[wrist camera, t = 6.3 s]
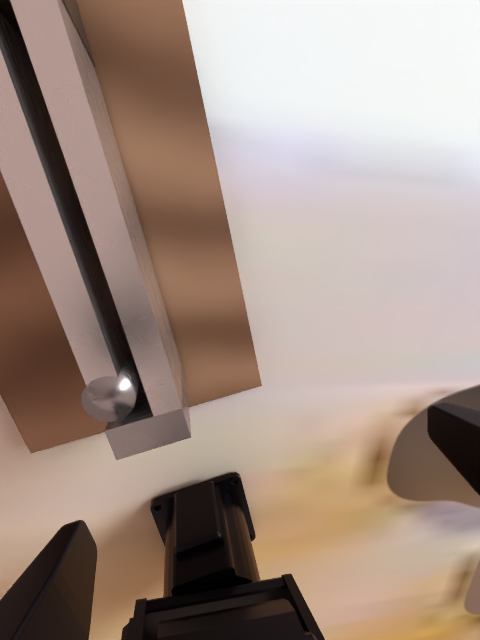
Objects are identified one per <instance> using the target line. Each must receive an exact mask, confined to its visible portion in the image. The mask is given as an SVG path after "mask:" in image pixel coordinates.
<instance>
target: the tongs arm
mask: <svg viewBox="0 0 480 640" xmlns="http://www.w3.org/2000/svg"><path fill="white" fill-rule="evenodd" d="M0 170H1V173H2V175H3V178H4V180H5V183H6V185H7V188H8V190H9V193H10V195H11V198H12V200H13V203H14V205H15V208H16V210H17V213H18V215H19V218H20V220H21V223H22V226H23V228H24V231H25V233H26V236H27V238H28V241H29V243H30V246H31V248H32V251H33V253H34V256H35V258H36V261H37V263H38V266H39V268H40V271H41V273H42V276H43V278H44V281H45V283H46V286H47V288H48V291H49V293H50V296H51V298H52V301H53V303H54V306H55V308H56V311H57V313H58V316H59V318H60V321H61V323H62V326H63V329H64V331H65V334H66V336H67V339H68V341H69V344H70V346H71V349H72V351H73V354H74V356H75V359H76V361H77V364H78V366H79V369H80V371H81V374H82V376H83V379H84V381H85V384H86V387H85V389H84V391H83V393H82V405H83V408H84V410H85V411H86V412H87V413H88V414H89V415H90V416H91V417H93V418H95V419H97V420H100V421H105V422H112V421H117V420H120V419H122V418H124V417H126V416H127V415H128V414H129V413H130V412H131V411H132V409H133V407H134V405H135V401H136V397H137V393H138V389H139V385H140V381H141V378H140V375H139V372H138V370H137V367H136V364H135V361H134V358H133V355H132V352H131V349H130V346H129V343H128V340H127V338H126V335H125V332H124V329H123V326H122V323H121V320H120V317H119V314H118V311H117V309H116V306H115V303H114V300H113V297H112V294H111V291H110V288H109V285H108V282H107V280H106V277H105V274H104V271H103V268H102V265H101V262H100V259H99V256H98V253H97V251H96V248H95V245H94V242H93V239H92V236H91V233H90V230H89V227H88V224H87V222H86V219H85V216H84V213H83V210H82V207H81V204H80V201H79V198H78V195H77V193H76V190H75V187H74V184H73V181H72V178H71V175H70V172H69V169H68V166H67V164H66V161H65V158H64V155H63V152H62V149H61V146H60V143H59V140H58V137H57V134H56V132H55V129H54V126H53V123H52V120H51V117H50V114H49V111H48V108H47V105H46V103H45V100H44V97H43V94H42V91H41V88H40V85H39V82H38V79H37V76H36V74H35V71H34V68H33V65H32V62H31V59H30V56H29V53H28V50H27V47H26V45H25V42H24V39H23V36H22V33H21V30H20V27H19V24H18V21H17V18H16V16H15V13H14V10H13V7H12V4H11V1H10V0H0Z"/></svg>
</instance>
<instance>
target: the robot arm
mask: <svg viewBox="0 0 480 640" xmlns="http://www.w3.org/2000/svg"><path fill="white" fill-rule="evenodd" d="M427 432H428V435H429V437H430V439H431V440H432V441H433V443H434V444H435V445H436V446H437V447H438V448H439V450H440V451H441V452H442V453H443V454H444V455H445V457H446V458H447V459H448V460H449V461H450V462H451V464H452V465H453V466H454V467H455V468H456V469H457V471H458V472H459V473H460V474H461V475H462V477H464V479H465V480H466V481H467V482H468V483H469V485H470V486H471V487H472V488H473V489H474V490H475V491H476V492H477V493H478V494H479V495H480V411H479V410H475V409H471V408H467V407H463V406H459V405H455V404H451V403H447V402H439V403H436V404H432V405H430V406H428V408H427ZM234 479H236V480H235V481H232V480H234ZM156 505H160V506H156ZM150 509H151V512H152V515H153V517H154V520H155V523H156V525H157V528H158V530H159V533H160V535H161V538H162V540H163V543H164V546H165V568H164V595H163V598H157V599H151V600H147V598H144V599H138V600H136V604H135V610H134V617H133V618H130V621H129V623H128V624H127V625H126V626H125V627H124V628H123V631H122V638H121V640H325V639H324V637H323V635H322V633H321V631H320V629H319V627H318V625H317V623H316V621H315V619H314V617H313V615H312V613H311V611H310V610H309V608H308V606H307V604H306V602H305V600H304V598H303V596H302V594H301V592H300V590H299V588H298V586H297V584H296V582H295V580H294V578H293V576H292V574H285V575H282V576H281V577H279V578H273V579H267V580H260V576H259V572H258V568H257V564H256V560H255V556H254V552H253V548H252V543H251V541H253V540H254V539H255V531H254V527H253V524H252V520H251V516H250V512H249V508H248V504H247V500H246V497H245V493H244V489H243V485H242V481H241V477H240V475H239V474H238V473H236V472H233V473H230V474H227V475H224V476H221V477H217V478H214V479H211V480H208V481H205V482H202V483H199V484H196V485H193V486H190V487H187V488H184V489H181V490H178V491H175V492H172V493H169V494H166V495H163V496H160V497H157V498H154V499H153V500H152V501H151V507H150ZM96 561H97V547H96V544H95V541H94V539H93V537H92V535H91V533H90V531H89V529H88V527H87V525H86V523H85V522H84V521H83V520H78V521H75V522H72V523H69V524H66V525H64V526H63V527H61V528H60V530H59V531H58V532H57V533H56V534H55V535H54V537H53V538H52V539H51V540H50V541H49V543H48V544H47V545H46V546H45V547H44V549H43V550H42V551H41V552H40V553H39V555H38V556H37V557H36V558H35V559H34V560H33V562H32V563H31V564H30V565H29V566H28V568H27V569H26V570H25V571H24V572H23V574H22V575H21V576H20V577H19V578H18V580H17V581H16V582H15V583H14V584H13V586H12V587H11V588H10V589H9V590H8V591H7V593H6V594H5V595H4V596H3V597H2V599H1V600H0V640H88V639H89V630H90V622H91V612H92V601H93V591H94V581H95V571H96Z"/></svg>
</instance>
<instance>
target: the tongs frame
mask: <svg viewBox="0 0 480 640" xmlns="http://www.w3.org/2000/svg"><path fill="white" fill-rule="evenodd" d="M10 1H11V4H12V7H13V10H14V13H15V16H16V18H17V21H18V24H19V27H20V30H21V33H22V36H23V39H24V42H25V45H26V47H27V50H28V53H29V56H30V59H31V62H32V65H33V68H34V71H35V74H36V76H37V79H38V82H39V85H40V88H41V91H42V94H43V97H44V100H45V103H46V105H47V108H48V111H49V114H50V117H51V120H52V123H53V126H54V129H55V132H56V134H57V137H58V140H59V143H60V146H61V149H62V152H63V155H64V158H65V161H66V164H67V166H68V169H69V172H70V175H71V178H72V181H73V184H74V187H75V190H76V193H77V195H78V198H79V201H80V204H81V207H82V210H83V213H84V216H85V219H86V222H87V224H88V227H89V230H90V233H91V236H92V239H93V242H94V245H95V248H96V251H97V253H98V256H99V259H100V262H101V265H102V268H103V271H104V274H105V277H106V280H107V282H108V285H109V288H110V291H111V294H112V297H113V300H114V303H115V306H116V309H117V311H118V314H119V317H120V320H121V323H122V326H123V329H124V332H125V335H126V338H127V340H128V343H129V346H130V349H131V352H132V355H133V358H134V361H135V364H136V367H137V370H138V372H139V375H140V378H141V381H140V385H139V389H138V393H137V397H136V401H135V405H134V407H133V409H132V411H131V412H130V413H129V414H128V415H127V416H126V417H124V418H122V419H120V420H117V421H112V422H108V423H107V426H106V429H105V433H106V435H107V438H108V440H109V443H110V445H111V448H112V450H113V453H114V455H115V457H116V460H119V459H122V458H125V457H128V456H132V455H135V454H138V453H142V452H145V451H148V450H151V449H155V448H158V447H161V446H164V445H168V444H171V443H174V442H177V441H181V440H184V439H187V438H190V437H191V429H190V415H189V401H188V387H187V381H186V378H185V374H184V371H183V368H182V364H181V361H180V357H179V354H178V350H177V347H176V344H175V340H174V337H173V333H172V330H171V327H170V323H169V320H168V316H167V313H166V310H165V306H164V303H163V299H162V296H161V292H160V289H159V286H158V282H157V279H156V275H155V272H154V269H153V265H152V262H151V258H150V255H149V251H148V248H147V245H146V241H145V238H144V234H143V231H142V228H141V224H140V221H139V217H138V214H137V210H136V207H135V204H134V200H133V197H132V193H131V190H130V187H129V183H128V180H127V176H126V173H125V169H124V166H123V163H122V159H121V156H120V152H119V149H118V146H117V142H116V139H115V135H114V132H113V128H112V125H111V122H110V118H109V115H108V111H107V108H106V105H105V101H104V98H103V94H102V91H101V88H100V84H99V81H98V77H97V74H96V70H95V67H96V66H95V63H94V59H93V56H92V53H91V49H90V46H89V42H88V39H87V35H86V32H85V29H84V25H83V22H82V18H81V15H80V11H79V8H78V5H77V1H76V0H10Z"/></svg>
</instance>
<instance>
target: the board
mask: <svg viewBox="0 0 480 640" xmlns="http://www.w3.org/2000/svg"><path fill="white" fill-rule="evenodd" d="M76 1H77V5H78V8H79V11H80V15H81V18H82V22H83V25H84V29H85V32H86V35H87V39H88V42H89V46H90V49H91V53H92V56H93V59H94V63H95V66H96V67H95V70H96V74H97V77H98V81H99V84H100V88H101V91H102V94H103V98H104V101H105V105H106V108H107V111H108V115H109V118H110V122H111V125H112V128H113V132H114V135H115V139H116V142H117V146H118V149H119V152H120V156H121V159H122V163H123V166H124V169H125V173H126V176H127V180H128V183H129V187H130V190H131V193H132V197H133V200H134V204H135V207H136V210H137V214H138V217H139V221H140V224H141V228H142V231H143V234H144V238H145V241H146V245H147V248H148V251H149V255H150V258H151V262H152V265H153V269H154V272H155V275H156V279H157V282H158V286H159V289H160V292H161V296H162V299H163V303H164V306H165V310H166V313H167V316H168V320H169V323H170V327H171V330H172V333H173V337H174V340H175V344H176V347H177V350H178V354H179V357H180V361H181V364H182V368H183V371H184V374H185V378H186V381H187V387H188V401H189V407H191V406H194V405H198V404H201V403H205V402H208V401H211V400H215V399H218V398H222V397H225V396H228V395H232V394H235V393H239V392H242V391H245V390H249V389H252V388H256V387H259V386H262V384H261V380H260V375H259V370H258V365H257V360H256V355H255V351H254V346H253V341H252V336H251V331H250V326H249V322H248V317H247V312H246V307H245V302H244V297H243V293H242V288H241V283H240V278H239V273H238V268H237V264H236V259H235V254H234V249H233V244H232V239H231V235H230V230H229V225H228V220H227V215H226V210H225V206H224V201H223V196H222V191H221V186H220V181H219V177H218V172H217V167H216V162H215V157H214V153H213V148H212V143H211V138H210V133H209V128H208V124H207V119H206V114H205V109H204V104H203V99H202V95H201V90H200V85H199V80H198V75H197V70H196V66H195V61H194V56H193V51H192V46H191V41H190V37H189V32H188V27H187V22H186V17H185V12H184V8H183V3H182V0H76ZM85 387H86V384H85V381H84V379H83V376H82V374H81V371H80V369H79V366H78V364H77V361H76V359H75V356H74V354H73V351H72V349H71V346H70V344H69V341H68V339H67V336H66V334H65V331H64V329H63V326H62V323H61V321H60V318H59V316H58V313H57V311H56V308H55V306H54V303H53V301H52V298H51V296H50V293H49V291H48V288H47V286H46V283H45V281H44V278H43V276H42V273H41V271H40V268H39V266H38V263H37V261H36V258H35V256H34V253H33V251H32V248H31V246H30V243H29V241H28V238H27V236H26V233H25V231H24V228H23V226H22V223H21V220H20V218H19V215H18V213H17V210H16V208H15V205H14V203H13V200H12V198H11V195H10V193H9V190H8V188H7V185H6V183H5V180H4V178H3V175H2V173H1V170H0V394H1V396H2V398H3V400H4V402H5V404H6V406H7V408H8V410H9V412H10V414H11V416H12V418H13V420H14V422H15V423H16V425H17V427H18V429H19V431H20V433H21V435H22V437H23V439H24V441H25V443H26V445H27V447H28V449H29V451H30V453H34V452H37V451H41V450H44V449H48V448H51V447H54V446H58V445H61V444H65V443H68V442H71V441H75V440H78V439H82V438H85V437H89V436H92V435H95V434H99V433H102V432H105V429H106V426H107V423H108V422H105V421H100V420H97V419H95V418H93V417H91V416H90V415H89V414H88V413H87V412H86V411H85V410H84V408H83V405H82V393H83V391H84V389H85Z"/></svg>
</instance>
